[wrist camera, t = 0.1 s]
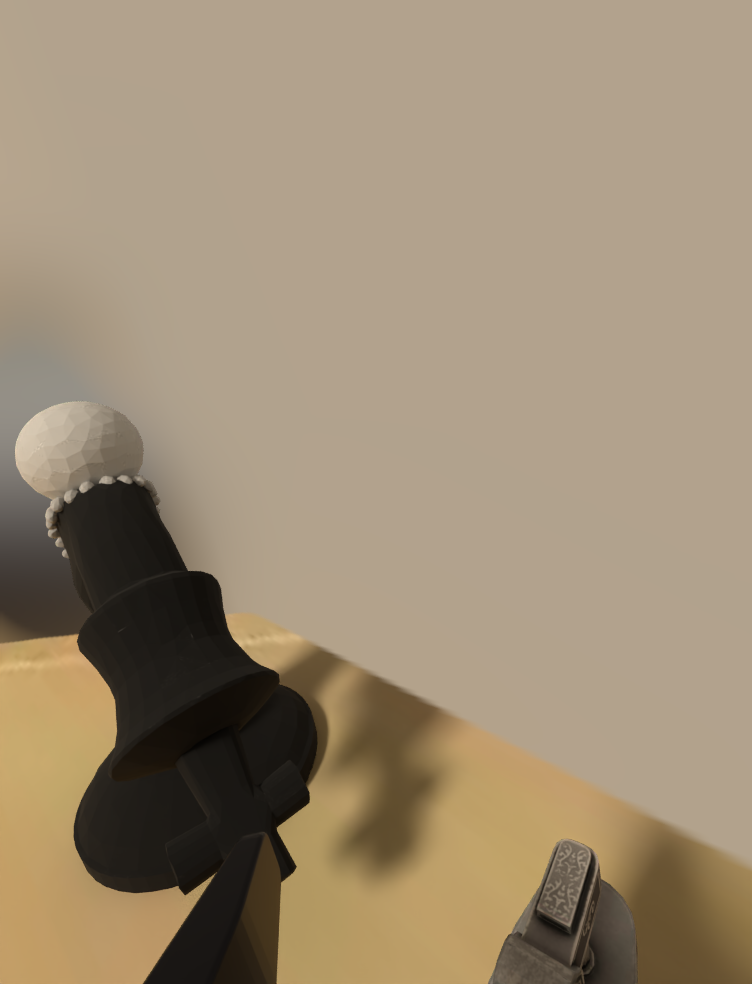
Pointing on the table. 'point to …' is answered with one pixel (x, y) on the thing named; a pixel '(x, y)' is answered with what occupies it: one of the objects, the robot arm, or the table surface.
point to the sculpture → (161, 673)
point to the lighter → (571, 928)
